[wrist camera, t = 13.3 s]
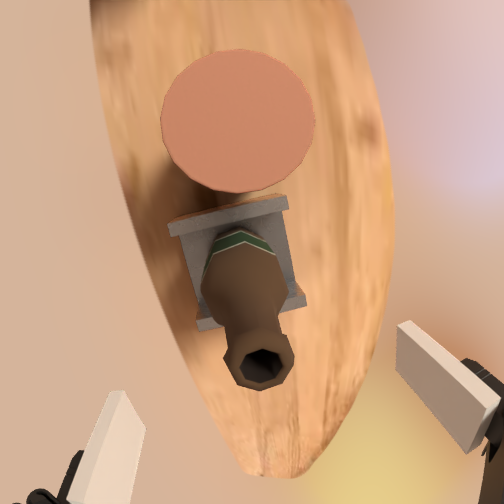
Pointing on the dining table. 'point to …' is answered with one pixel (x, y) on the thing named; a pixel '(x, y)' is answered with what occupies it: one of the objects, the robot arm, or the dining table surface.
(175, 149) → the coffee jar
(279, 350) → the beer bottle
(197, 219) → the bracket
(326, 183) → the dining table surface
